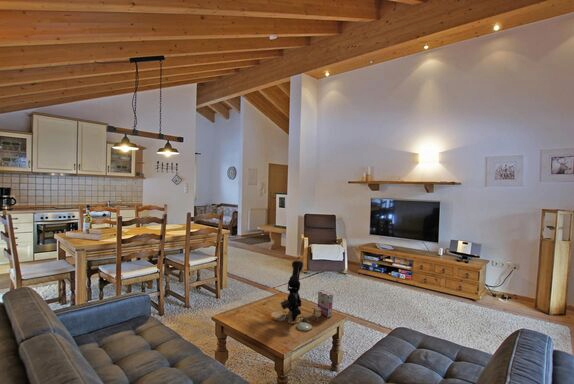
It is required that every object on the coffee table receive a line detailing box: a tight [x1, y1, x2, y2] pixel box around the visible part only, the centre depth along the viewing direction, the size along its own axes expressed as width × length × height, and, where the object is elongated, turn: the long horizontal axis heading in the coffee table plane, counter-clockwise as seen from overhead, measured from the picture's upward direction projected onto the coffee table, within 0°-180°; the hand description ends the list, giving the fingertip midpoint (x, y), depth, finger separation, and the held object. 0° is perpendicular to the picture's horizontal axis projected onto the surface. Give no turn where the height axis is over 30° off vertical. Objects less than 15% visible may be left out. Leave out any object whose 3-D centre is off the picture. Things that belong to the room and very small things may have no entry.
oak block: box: [312, 306, 322, 316], centre depth 213 cm, size 4×4×4 cm
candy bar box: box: [317, 289, 334, 318], centre depth 224 cm, size 11×5×16 cm, turn 37°
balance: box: [287, 313, 322, 325], centre depth 211 cm, size 24×6×5 cm, turn 104°
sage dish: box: [296, 322, 312, 332], centre depth 202 cm, size 10×10×1 cm
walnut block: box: [287, 311, 298, 323], centre depth 209 cm, size 5×5×5 cm
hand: (292, 319), depth 209 cm, fingers closed on walnut block, 5 cm apart
